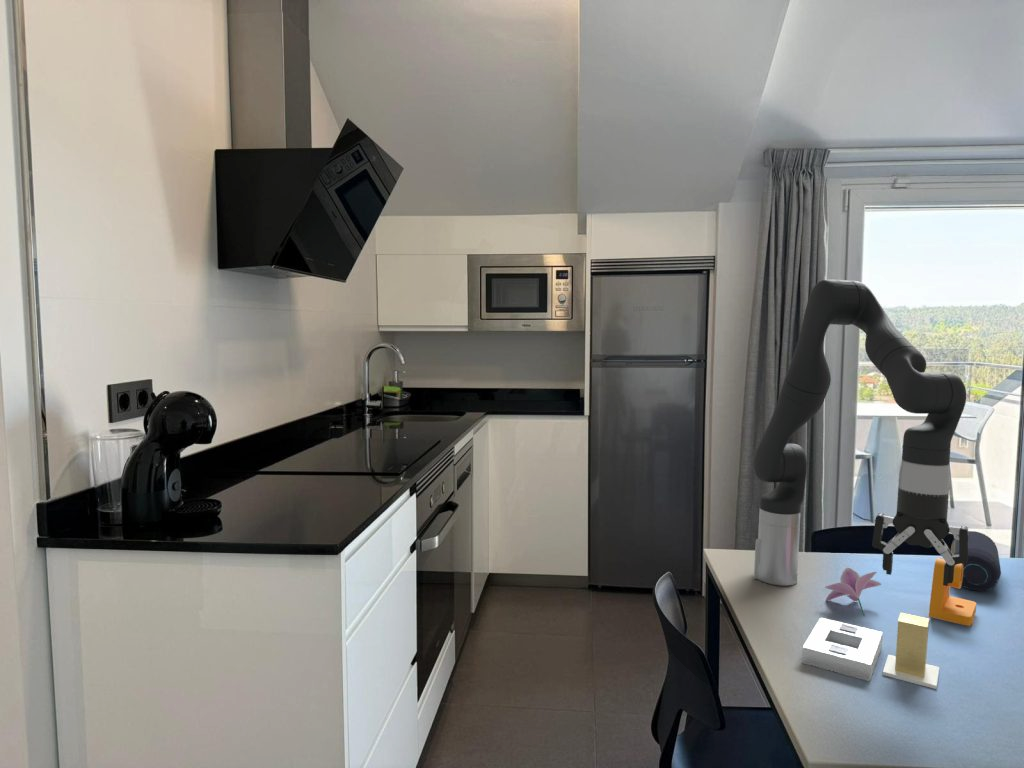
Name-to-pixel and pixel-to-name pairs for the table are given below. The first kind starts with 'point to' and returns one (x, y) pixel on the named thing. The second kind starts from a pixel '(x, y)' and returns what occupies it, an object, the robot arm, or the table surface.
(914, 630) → the brass peg
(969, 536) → the portable speaker
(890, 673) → the pad
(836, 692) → the table surface
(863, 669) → the socket block
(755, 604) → the table surface
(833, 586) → the lily
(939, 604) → the bracket
